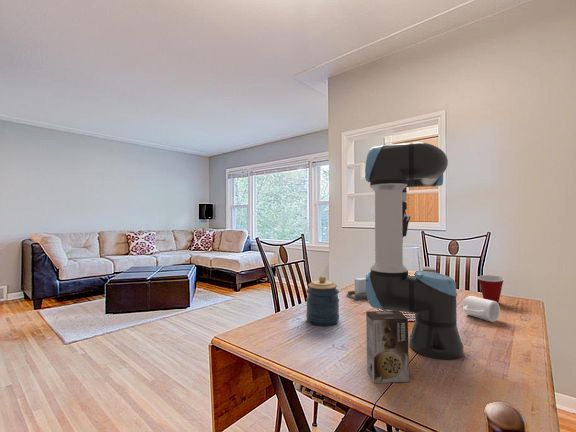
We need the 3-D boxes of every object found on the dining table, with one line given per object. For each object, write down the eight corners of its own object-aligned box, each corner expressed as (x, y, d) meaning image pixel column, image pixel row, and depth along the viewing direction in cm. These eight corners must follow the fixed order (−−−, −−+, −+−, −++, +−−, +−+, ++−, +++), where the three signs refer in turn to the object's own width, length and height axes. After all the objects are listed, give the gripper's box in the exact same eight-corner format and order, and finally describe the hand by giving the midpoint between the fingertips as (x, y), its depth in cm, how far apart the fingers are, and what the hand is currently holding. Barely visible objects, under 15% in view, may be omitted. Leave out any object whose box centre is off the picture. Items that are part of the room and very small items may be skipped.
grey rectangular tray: (355, 300, 149) (355, 294, 149) (346, 296, 156) (346, 291, 156) (382, 296, 155) (382, 291, 155) (372, 292, 163) (372, 288, 163)
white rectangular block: (358, 295, 152) (358, 280, 152) (354, 294, 156) (354, 278, 156) (373, 294, 156) (373, 278, 156) (369, 292, 159) (369, 277, 159)
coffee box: (399, 369, 82) (399, 310, 82) (409, 382, 76) (409, 318, 75) (365, 370, 82) (365, 310, 82) (373, 383, 75) (373, 318, 75)
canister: (324, 313, 129) (324, 271, 129) (346, 322, 118) (346, 277, 118) (299, 319, 122) (299, 275, 122) (320, 329, 111) (319, 281, 111)
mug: (475, 313, 128) (475, 294, 128) (500, 320, 120) (500, 300, 119) (456, 317, 123) (456, 298, 123) (481, 325, 114) (481, 304, 114)
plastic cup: (471, 300, 147) (471, 275, 147) (488, 298, 150) (488, 274, 150) (493, 306, 137) (492, 280, 137) (510, 304, 140) (510, 278, 140)
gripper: (414, 201, 141) (415, 252, 141) (394, 202, 153) (395, 249, 153) (402, 201, 138) (402, 253, 138) (382, 202, 150) (383, 250, 150)
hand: (398, 251), depth 145 cm, fingers closed
